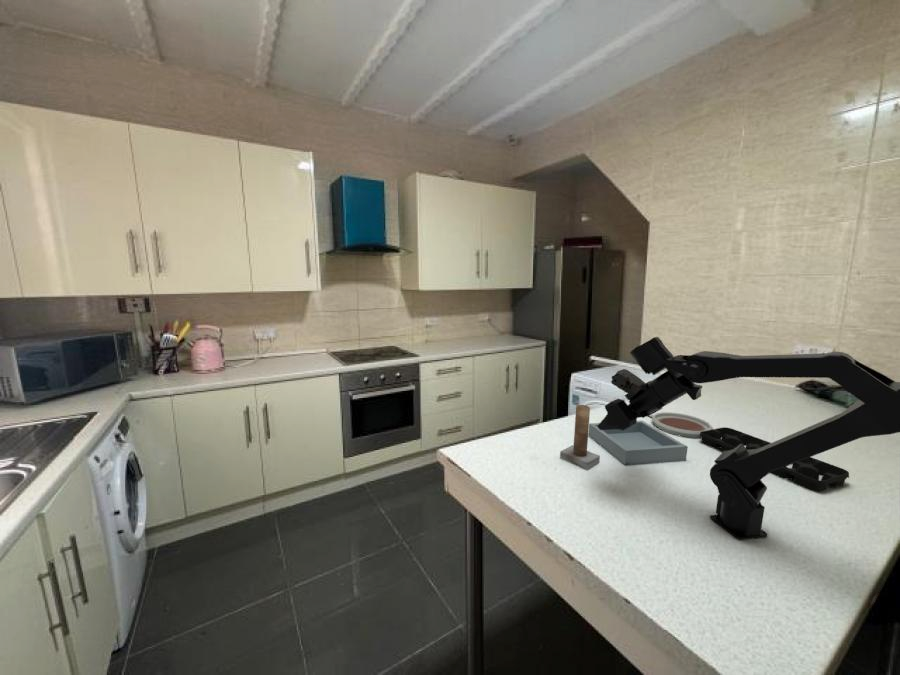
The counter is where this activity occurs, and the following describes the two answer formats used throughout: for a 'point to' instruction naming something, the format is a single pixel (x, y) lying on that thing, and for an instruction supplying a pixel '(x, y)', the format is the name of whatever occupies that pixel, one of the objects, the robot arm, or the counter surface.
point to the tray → (639, 444)
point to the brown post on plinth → (580, 442)
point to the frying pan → (680, 424)
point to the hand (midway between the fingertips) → (608, 423)
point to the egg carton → (801, 471)
